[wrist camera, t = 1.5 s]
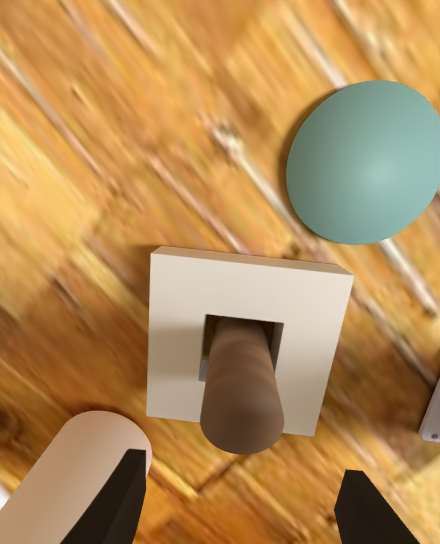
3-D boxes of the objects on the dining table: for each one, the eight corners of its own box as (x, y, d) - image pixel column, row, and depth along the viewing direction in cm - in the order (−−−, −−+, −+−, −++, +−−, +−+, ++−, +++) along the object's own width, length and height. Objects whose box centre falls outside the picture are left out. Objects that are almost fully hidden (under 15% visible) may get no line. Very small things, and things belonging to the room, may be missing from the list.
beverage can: (71, 392, 22) (-108, 608, 10) (165, 421, 22) (91, 661, 11) (57, 462, 24) (-104, 703, 13) (142, 487, 25) (61, 744, 13)
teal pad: (461, 92, 15) (470, 88, 14) (412, 250, 17) (418, 252, 17) (300, 77, 15) (302, 72, 14) (275, 235, 18) (276, 236, 17)
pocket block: (338, 264, 18) (354, 275, 15) (304, 409, 21) (313, 436, 19) (161, 245, 18) (150, 253, 16) (156, 391, 21) (146, 416, 19)
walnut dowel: (268, 313, 19) (290, 392, 11) (260, 358, 20) (277, 459, 13) (215, 307, 19) (203, 381, 12) (211, 353, 20) (197, 449, 13)
